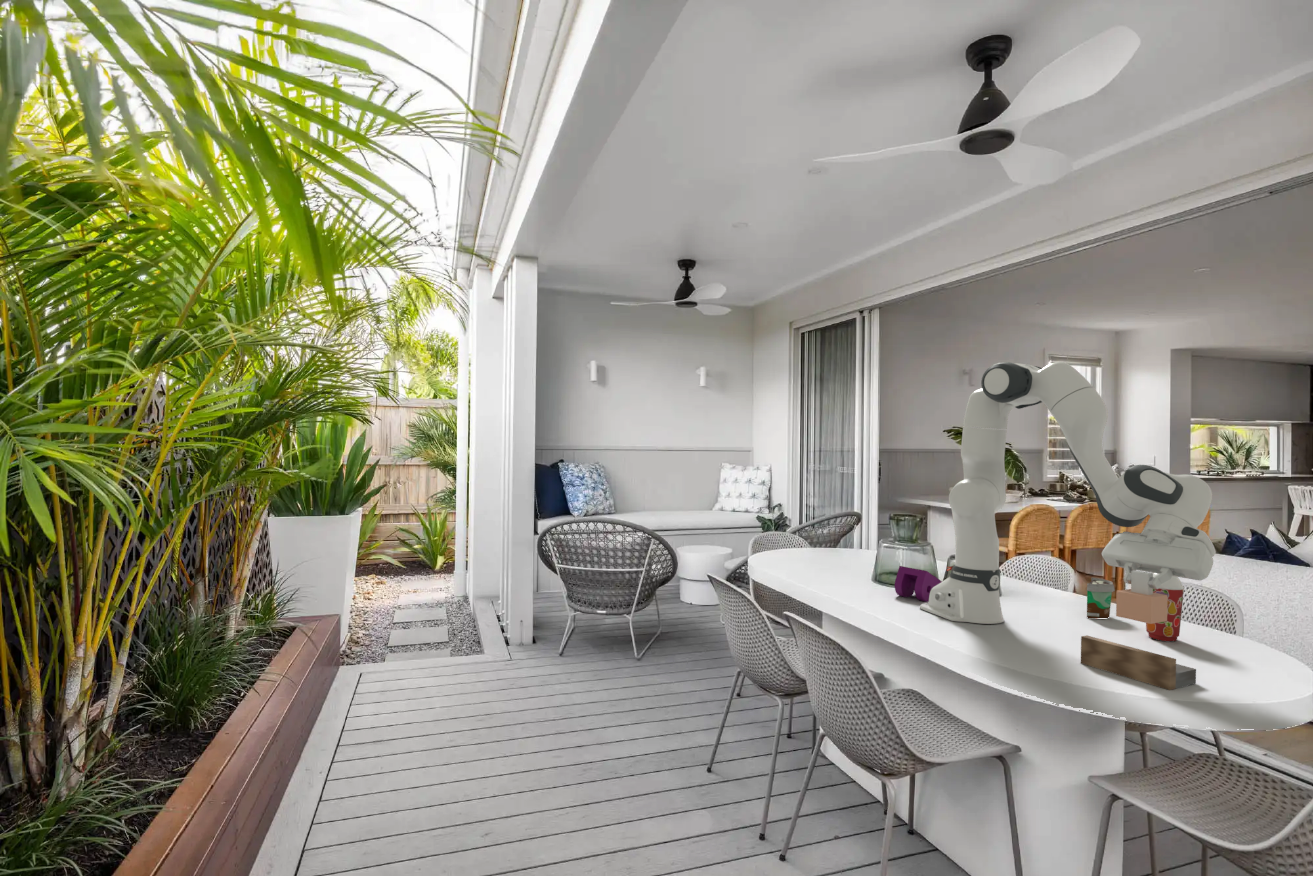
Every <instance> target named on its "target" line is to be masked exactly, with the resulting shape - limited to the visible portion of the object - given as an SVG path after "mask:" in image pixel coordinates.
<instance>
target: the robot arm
mask: <svg viewBox="0 0 1313 876" xmlns="http://www.w3.org/2000/svg"><path fill="white" fill-rule="evenodd" d="M980 384H981V388H979V389H976V390H974V391H973V392H972V393H971V394H970V395H969V398H968V400H967V401H968V402H967V404H966V408H965V412H964V416H963V425H962V435H961V444H960V445H961V446H960V457H961V458H960V459H961V462H962V469H963V471H962V472H963V480H959V482H957V483H955V485H954V486H953V487H952V489H950V492H949V495H948V503H949V506H950V508H951V514H952V522H953V527H954V528H953V529H954V534H955V535H954V537H955V548H954V549H955V551H954V553H955V555H954V564H953V565H951V566H946V571H947V572H950V573H949V576H948V577H947V578H946V579H944V580H943V581H942V580H941V581H942V582H941V583H939V584H938V585H936V586H934V587H933V588H932V589H931V591H930V595H929V601H928V602H923V603H921V604H920V605H919V609H920V610H922V611H923V610H924V611H926V612H929V613H931V614H933V615H936V616H939V617H941V618H944V619H946V620H948V621H952V622H961V623H962V622H965V623H971V624H988V625H990V624H991V625H993V624H995V625H996V624H1002V623H1004V622H1005V618H1004V615H1003V611H1002V606H1001V598H1000V584H1001V569H1000V567H999V565H1000V563H999V561H1000V539H999V537H998V532H997V525H996V524H997V523H996V517H995V516H996V514H997V513H998V512H999V511H1001V510H1002V508H1003V507H1004V505H1005V503H1006V501H1007V492H1006V469H1005V455H1006V454H1005V453H1006V444H1007V434H1008V433H1007V431H1008V422H1009V421H1008V419H1009V414H1010V413H1011V411H1012V410H1013V409H1014V408H1016V409H1018V410H1021V409H1023V408H1028V407H1033V406H1037V405H1039V404H1042V403H1043V404H1044V405H1045V407H1046V409H1047V410H1048V411H1049V413H1050V414H1051V415H1052V416H1053V419H1054V420H1055V421H1056V423H1057V424H1058V426H1059V428H1060V429H1061V432H1062V434H1063V436H1064V438H1065V441H1066V443H1067V446H1068V447H1067V448H1068V449H1069V451H1070V453H1071V455H1072V458H1074V461H1075V462H1076V464H1077V467H1078V468H1079V470H1080V471H1081V473H1082V474H1083V476H1084V478H1085V480H1086V481H1087V483H1088V485H1089V486H1090V488H1091V490H1092V492H1093V494H1094V497H1095V501H1096V504H1097V508H1098V510H1099V513H1100V514H1101V515H1102V517H1103V518H1104V519H1106V521H1108V522H1110V523H1111V524H1113V525H1116V526H1118V527H1123V528H1134V527H1137V526H1139V525H1141V524H1142V523H1143V522H1144V520H1145V519H1146V518H1147V517H1148V516H1149V519H1148V521H1147V522H1146V524H1145V526H1144V527H1143V529H1142V531H1141V532H1131V531H1122V532H1119V533H1116V534H1114V535H1113V537H1112V538H1111V539H1110V540H1109V541H1108V543H1106V545H1105V546H1104V548H1103V549H1102V551H1101V557H1102V558H1103V560H1104V562H1105V563H1106V565H1107V566H1110V567H1117V568H1121V569H1124V571H1125V575H1124V577H1123V581H1124V583H1125V584H1128V585H1131V571H1135V570H1136V571H1142V572H1148V573H1157V574H1159V575H1158V576H1156V577H1155V578H1154V577H1150V579H1149V581H1148V585H1149V587H1150V588H1154V589H1159V587H1160V585H1161V584H1162V583H1164V582H1166V581H1168V580H1170V579H1171V577H1172V576H1176V577H1178V578H1184V579H1187V580H1195V581H1202V580H1205V579H1207V578H1208V577H1209V575H1210V573H1211V572H1212V568H1213V567H1214V566H1213V565H1214V559H1213V557H1214V556H1215V555H1216V554H1217V551H1216V549H1215V548H1216V547H1215V546H1214V544H1213V542H1212V540H1211V539H1210V537H1209V535H1208V534H1207V533H1206V532H1205V531H1204V530H1201V529H1199V528H1198V527H1199V526H1200V525H1201V524H1203V523H1204V520H1205V519H1206V516H1207V515H1208V512H1209V510H1210V508H1211V504H1212V501H1213V491H1212V488H1211V487H1210V486H1209V484H1208V483H1207V482H1206V481H1205V480H1204V479H1202V478H1200V477H1198V476H1196V475H1193V474H1173V473H1169V472H1166V471H1165V472H1164V471H1162V470H1160V468H1159V469H1158V468H1157V467H1154V466H1152V465H1147V464H1137V465H1136V464H1135V465H1133V466H1130V467H1129V468H1127V469H1126V471H1124V472H1123V473H1122V474H1121V475H1120V476H1119V477H1118V475H1117V474H1116V472H1115V470H1114V469H1113V467H1112V465H1111V464H1110V462H1109V461H1108V459H1107V457H1106V455H1105V453H1104V449H1103V436H1104V431H1105V428H1106V425H1107V422H1108V416H1109V415H1108V414H1109V412H1108V407H1107V405H1106V403H1105V401H1104V399H1103V397H1102V396H1101V395H1100V393H1099V392H1098V391H1097V390H1096V388H1095V387H1094V386H1093V385H1092V384H1091V383H1090V381H1089V380H1087V378H1086V377H1084V376H1083V375H1082V373H1081V372H1079V371H1078V369H1076V368H1075V367H1073V366H1072V365H1071V364H1069V363H1068V362H1065V361H1055V362H1052V363H1049V364H1047V365H1046V366H1044V367H1040V366H1035V365H1031V364H1028V363H1023V362H1018V363H1015V362H1014V363H1013V362H998V363H995V364H992V365H991V366H989V367H988V368H987V369H985V371H984V373H983V374H982V377H981V383H980Z"/></svg>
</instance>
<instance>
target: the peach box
mask: <svg viewBox="0 0 1313 876" xmlns="http://www.w3.org/2000/svg"><path fill="white" fill-rule="evenodd" d="M1150 577H1153V573H1151V572H1145V571H1139V570H1135V571H1131V584H1130V588H1127V589H1121V590H1116V595H1115V596H1116V597H1115V598H1116V602H1115V603H1116V604H1115V605H1116V611H1115V616H1116V617H1119V618H1122V619H1128V620H1132V621H1137V622H1141V623H1144V624H1146V623H1149V624H1153V623H1159V622H1164V621H1167V596H1168V595H1164V594H1159V593H1153V588H1150V587H1149V585H1148V581H1149V579H1150Z"/></svg>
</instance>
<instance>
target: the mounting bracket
mask: <svg viewBox="0 0 1313 876" xmlns="http://www.w3.org/2000/svg"><path fill="white" fill-rule="evenodd" d="M941 582H942V580H941V579H939V578H938V577H936V576H935V575H933V574H932V573H931V572H929V571H928V570H924V569H918V568H913V567H907V566H902V565H901V566H900V565H899V567H898V569H897V574H896V577H895V580H894V591H895V593H896V594H897V596H899V597H903V598H909V597H910V598H911V597H912V596H913V595H915V597H916V599H917V600H918V601H921V602H924V603H927V602H929V595H930V591H931V589H932V588H933V587H934V586H936V585H938V584H939V583H941Z"/></svg>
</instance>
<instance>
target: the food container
mask: <svg viewBox="0 0 1313 876" xmlns="http://www.w3.org/2000/svg"><path fill="white" fill-rule="evenodd" d="M1113 592H1115V586H1114V584H1113V581H1111V580H1107V579H1105V578H1104V579H1103V578H1098V577H1091V581H1090V582H1088V583H1087V587H1086V618H1087V617H1088V618H1087V619H1089V618H1108V617H1109V618H1110V616H1111V615H1110V614H1111V605H1112V596H1113Z"/></svg>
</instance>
